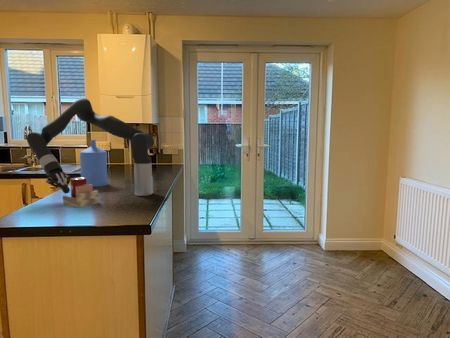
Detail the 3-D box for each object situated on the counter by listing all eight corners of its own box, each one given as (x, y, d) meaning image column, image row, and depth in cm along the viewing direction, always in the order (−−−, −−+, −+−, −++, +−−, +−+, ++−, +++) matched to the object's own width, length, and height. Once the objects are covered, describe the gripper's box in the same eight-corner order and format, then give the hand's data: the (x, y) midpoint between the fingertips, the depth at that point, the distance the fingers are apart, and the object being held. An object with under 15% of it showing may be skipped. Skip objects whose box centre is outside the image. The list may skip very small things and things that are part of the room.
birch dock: (83, 200, 163) (82, 188, 163) (98, 202, 158) (98, 190, 157) (63, 204, 154) (62, 191, 153) (78, 207, 148) (78, 194, 148)
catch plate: (91, 201, 158) (91, 184, 157) (93, 202, 158) (92, 184, 157) (76, 205, 151) (75, 186, 150) (77, 205, 151) (77, 187, 150)
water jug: (99, 188, 195) (97, 140, 191) (75, 186, 198) (73, 140, 194) (113, 183, 210) (111, 139, 206) (90, 182, 213) (89, 139, 209)
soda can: (91, 202, 159) (90, 177, 158) (81, 205, 152) (80, 180, 151) (78, 201, 161) (77, 176, 160) (67, 204, 154) (66, 179, 153)
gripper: (60, 168, 171) (76, 194, 167) (34, 171, 160) (51, 199, 156) (65, 159, 168) (82, 185, 164) (40, 161, 157) (57, 189, 152)
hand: (67, 192), depth 160 cm, fingers closed
